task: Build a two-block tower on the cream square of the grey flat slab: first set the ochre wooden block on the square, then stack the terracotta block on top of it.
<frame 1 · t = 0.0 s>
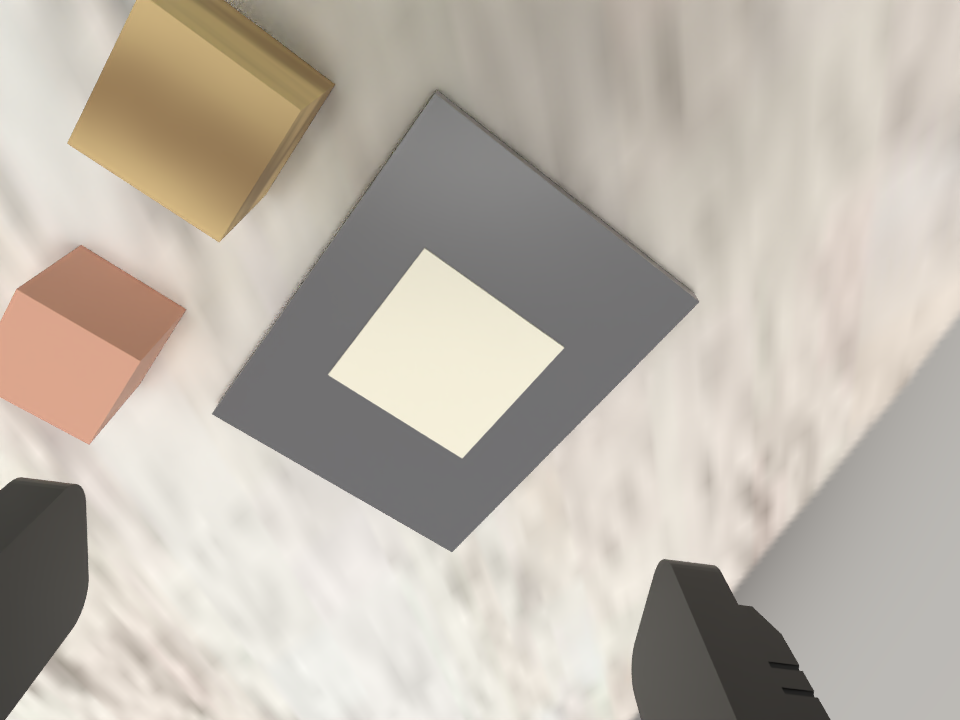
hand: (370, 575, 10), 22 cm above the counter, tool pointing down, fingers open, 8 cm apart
ochre block: (238, 98, 29), on the counter
terracotta block: (112, 317, 33), on the counter
grey flat slab: (446, 350, 34), on the counter
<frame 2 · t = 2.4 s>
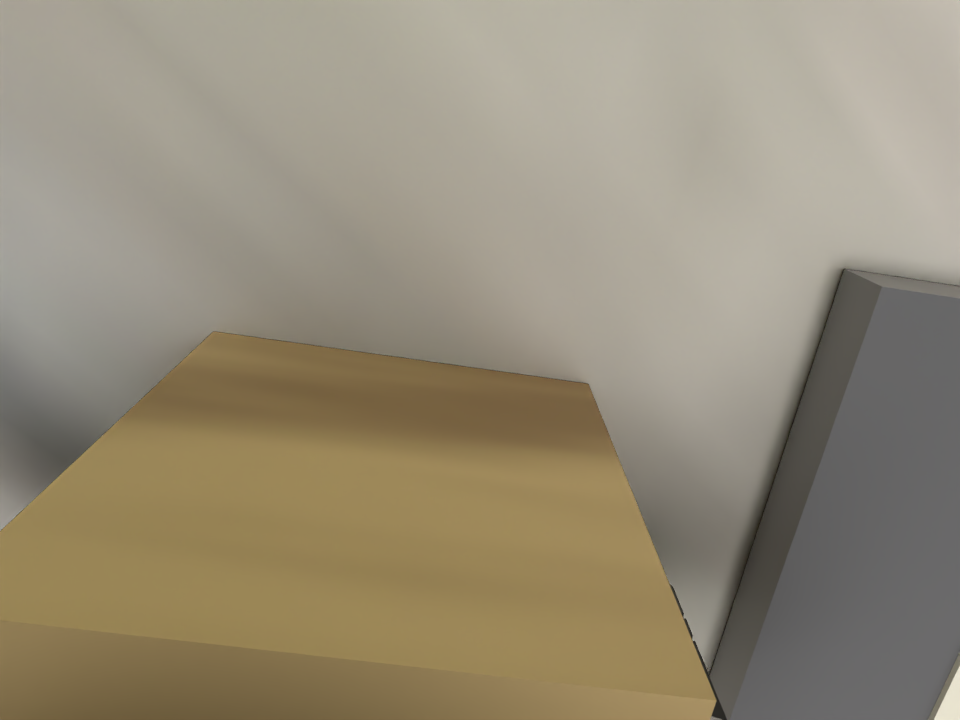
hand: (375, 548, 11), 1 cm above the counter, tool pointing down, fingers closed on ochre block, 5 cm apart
ochre block: (383, 518, 12), on the counter, touching gripper
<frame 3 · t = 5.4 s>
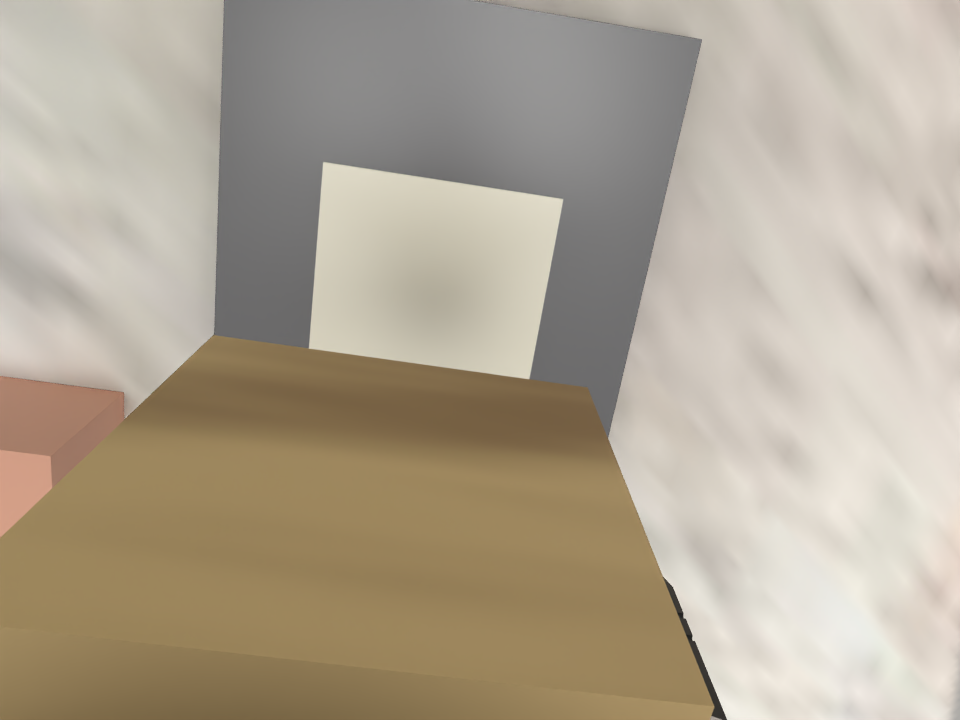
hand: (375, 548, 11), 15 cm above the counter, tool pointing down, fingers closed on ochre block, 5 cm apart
ochre block: (383, 521, 12), point 15 cm above the counter, touching gripper
terracotta block: (57, 443, 27), on the counter
grey flat slab: (430, 288, 25), on the counter
when the fingers open (3 cm above the counter, at t = 8.0 s): ochre block drops 1 cm, resting on grey flat slab.
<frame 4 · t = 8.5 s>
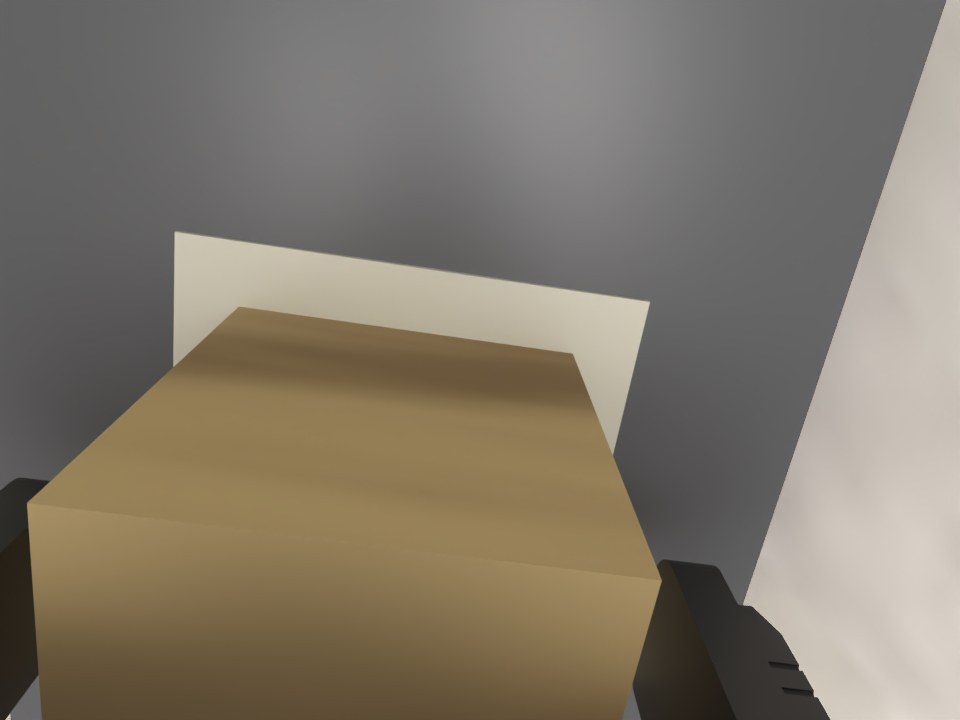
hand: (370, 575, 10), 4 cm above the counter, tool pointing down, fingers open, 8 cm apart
ochre block: (389, 477, 13), point 1 cm above the counter, touching grey flat slab
grey flat slab: (396, 448, 14), on the counter
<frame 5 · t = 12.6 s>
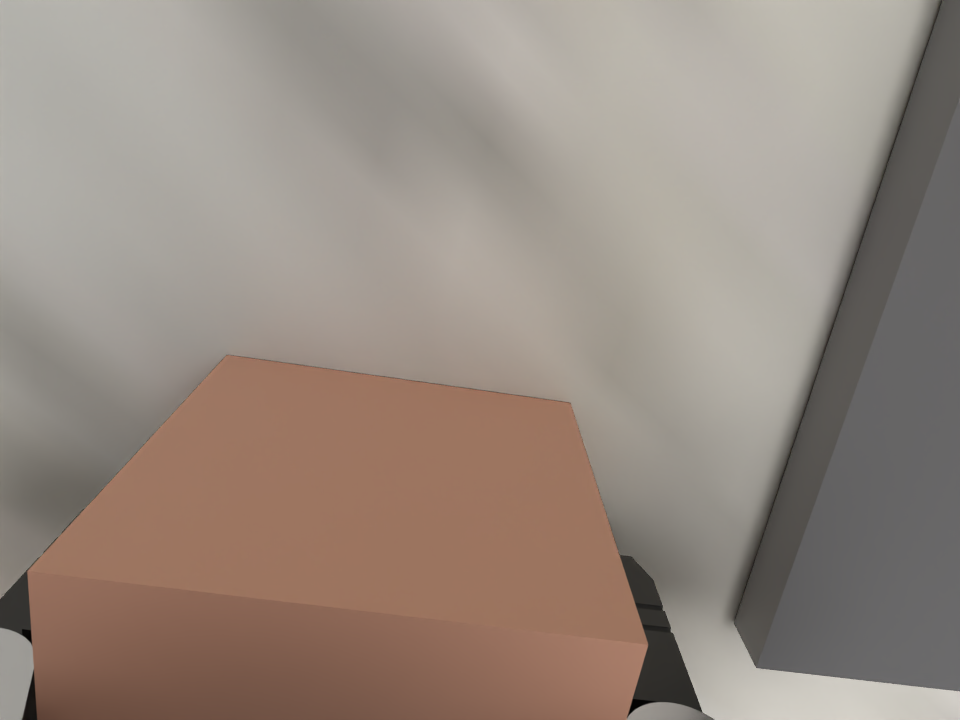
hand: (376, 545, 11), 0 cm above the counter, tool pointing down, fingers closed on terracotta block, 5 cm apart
terracotta block: (382, 526, 11), on the counter, touching gripper
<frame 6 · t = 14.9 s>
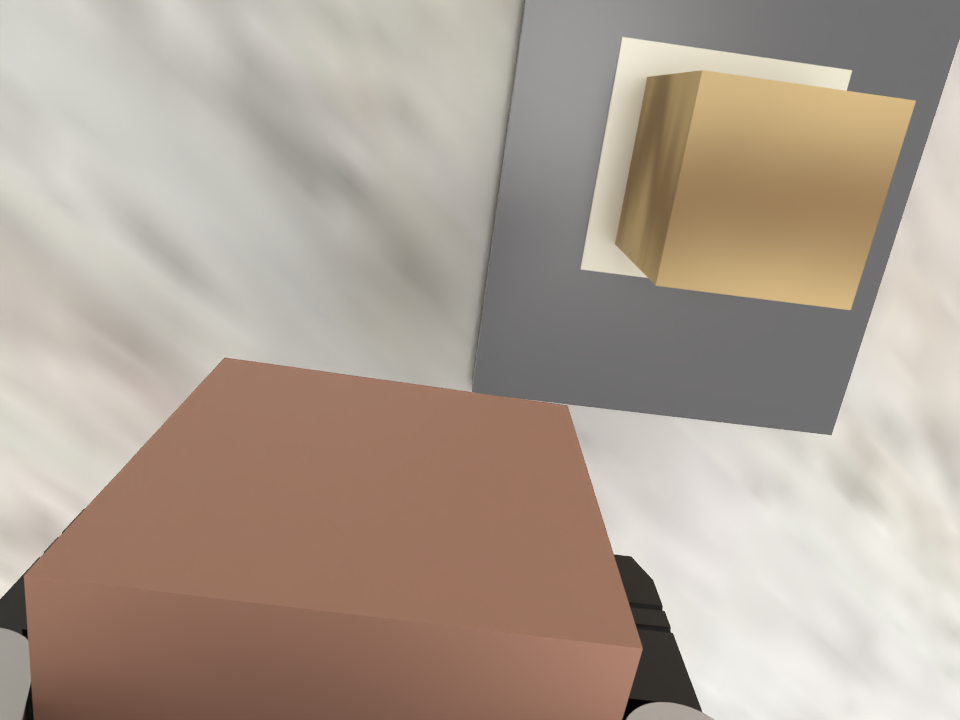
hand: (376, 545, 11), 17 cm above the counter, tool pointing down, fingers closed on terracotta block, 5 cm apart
ochre block: (710, 174, 25), point 1 cm above the counter, touching grey flat slab
terracotta block: (379, 528, 11), point 17 cm above the counter, touching gripper
grey flat slab: (700, 171, 26), on the counter
when the fingers open (9 cm above the counter, at t = 17.5 s): terracotta block drops 1 cm, resting on ochre block.
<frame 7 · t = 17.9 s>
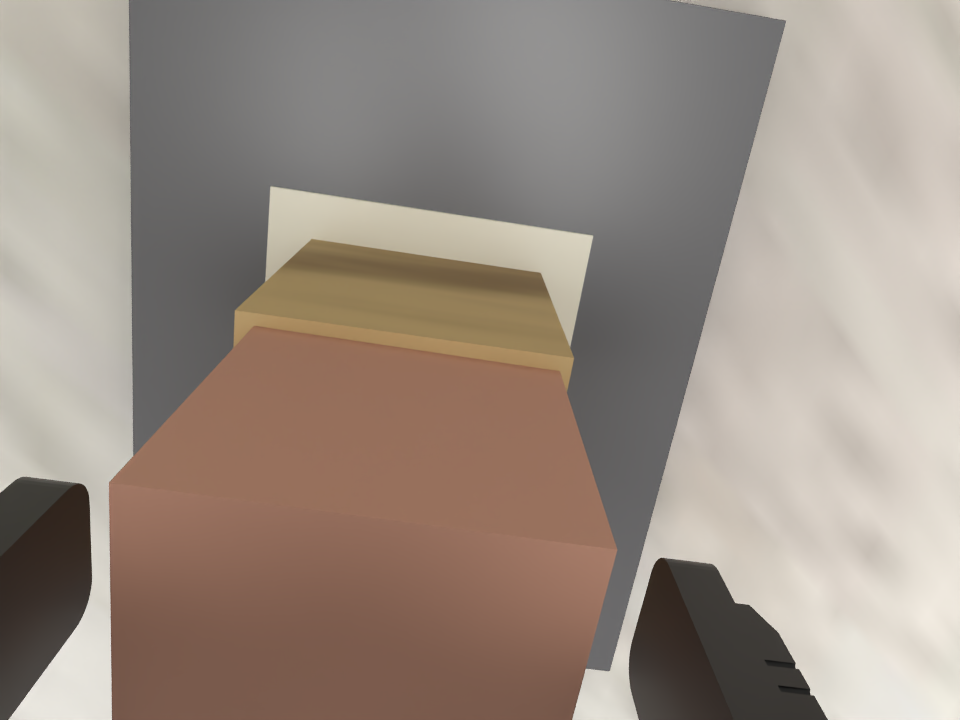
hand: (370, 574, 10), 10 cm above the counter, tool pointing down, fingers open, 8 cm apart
ochre block: (413, 362, 18), point 1 cm above the counter, touching grey flat slab, terracotta block
terracotta block: (390, 482, 13), point 7 cm above the counter, touching ochre block
grey flat slab: (417, 347, 19), on the counter
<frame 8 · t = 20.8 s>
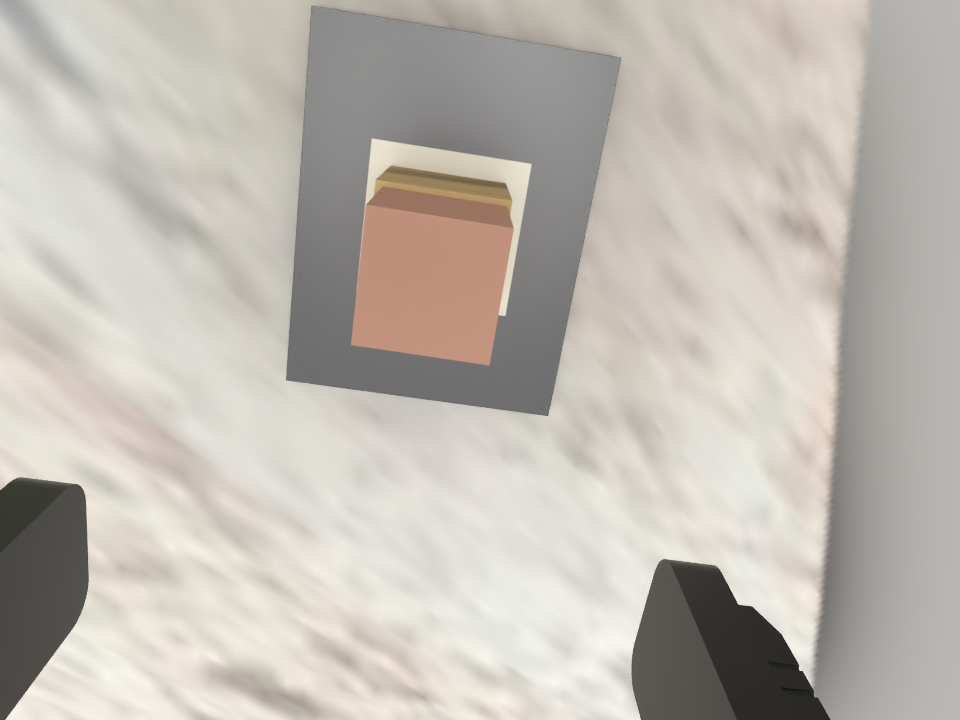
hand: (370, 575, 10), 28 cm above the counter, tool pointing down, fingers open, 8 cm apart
ochre block: (440, 231, 36), point 1 cm above the counter, touching grey flat slab, terracotta block
terracotta block: (436, 257, 30), point 7 cm above the counter, touching ochre block
grey flat slab: (442, 227, 37), on the counter
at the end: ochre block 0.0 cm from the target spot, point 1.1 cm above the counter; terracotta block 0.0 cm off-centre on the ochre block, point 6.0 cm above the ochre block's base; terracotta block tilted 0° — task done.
